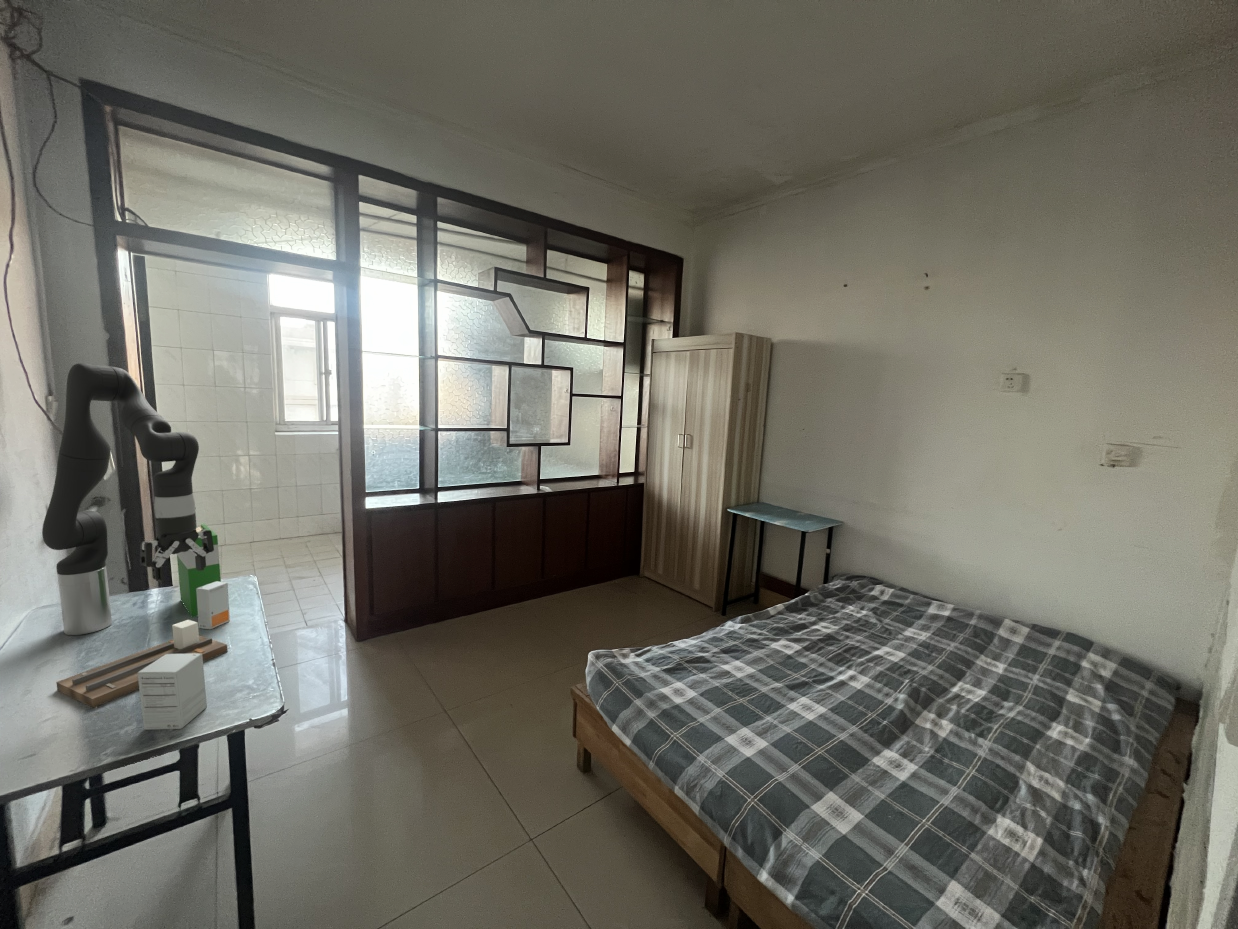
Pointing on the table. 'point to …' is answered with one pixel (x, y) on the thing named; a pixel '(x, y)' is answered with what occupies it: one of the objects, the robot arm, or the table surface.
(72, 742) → the table surface
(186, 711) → the supplement box
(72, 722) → the table surface
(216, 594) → the skincare box
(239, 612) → the table surface
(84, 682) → the fader console
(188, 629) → the fader tab
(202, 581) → the hardback book
